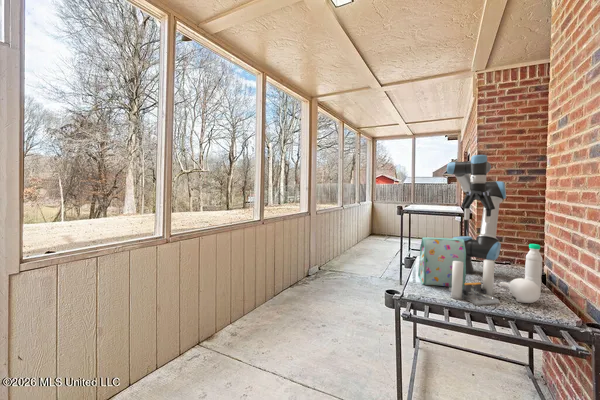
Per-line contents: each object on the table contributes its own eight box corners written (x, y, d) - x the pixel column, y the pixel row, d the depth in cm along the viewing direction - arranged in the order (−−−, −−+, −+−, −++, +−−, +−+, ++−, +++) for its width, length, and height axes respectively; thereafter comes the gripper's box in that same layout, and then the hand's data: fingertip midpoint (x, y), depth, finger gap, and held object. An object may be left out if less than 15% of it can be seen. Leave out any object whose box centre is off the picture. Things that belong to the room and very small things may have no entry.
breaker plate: (448, 291, 145) (449, 283, 145) (468, 289, 147) (468, 282, 147) (476, 305, 127) (476, 296, 127) (498, 303, 129) (498, 295, 129)
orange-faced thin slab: (463, 291, 137) (464, 283, 137) (478, 290, 138) (479, 282, 138) (465, 292, 135) (466, 284, 135) (481, 291, 137) (481, 283, 137)
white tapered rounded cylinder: (447, 296, 137) (449, 260, 137) (457, 295, 138) (458, 260, 138) (455, 300, 132) (457, 263, 132) (465, 299, 133) (467, 263, 133)
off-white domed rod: (478, 294, 141) (479, 259, 140) (487, 293, 142) (488, 259, 141) (487, 298, 135) (489, 262, 135) (496, 297, 136) (498, 262, 136)
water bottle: (534, 292, 145) (537, 245, 145) (520, 287, 152) (523, 243, 151) (544, 291, 147) (546, 245, 147) (530, 286, 154) (532, 242, 153)
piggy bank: (541, 311, 125) (520, 301, 140) (550, 287, 125) (528, 279, 140) (513, 301, 127) (495, 291, 142) (521, 277, 127) (503, 270, 142)
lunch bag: (458, 281, 162) (460, 236, 161) (467, 290, 146) (469, 240, 145) (416, 277, 167) (418, 233, 167) (421, 286, 152) (423, 238, 151)
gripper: (455, 183, 163) (453, 218, 164) (491, 182, 139) (490, 223, 139) (466, 183, 164) (464, 218, 165) (504, 182, 140) (502, 223, 141)
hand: (476, 221), depth 152 cm, fingers open, 13 cm apart
